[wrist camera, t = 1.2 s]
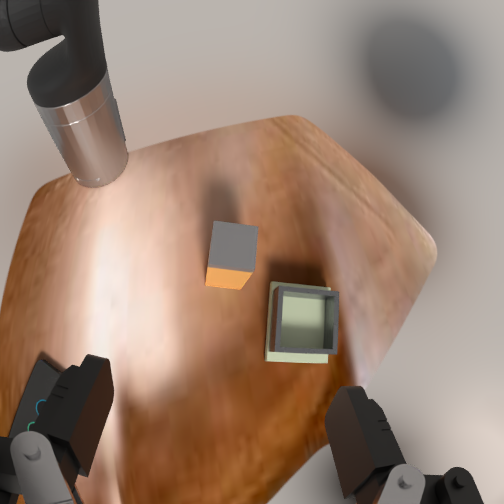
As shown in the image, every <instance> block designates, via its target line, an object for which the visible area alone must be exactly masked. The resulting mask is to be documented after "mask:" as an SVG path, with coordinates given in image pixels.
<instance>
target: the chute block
mask: <svg viewBox="0 0 504 504" xmlns="http://www.w3.org/2000/svg"><path fill="white" fill-rule="evenodd" d="M257 236H258V227H257V226H250V225H243V224H236V223H229V222H221V221H214V223H213V230H212V237H211V243H210V250H209V258H208V266H207V274H206V283H205V285H206V286H214V287H222V288H231V289H239V290H241V288H242V287H243V286H244V284H245V283H246V281H247V280H248V279H249V277H250V276H251V274H252V273H253V272H254V270H255V262H256V249H257Z"/></svg>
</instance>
